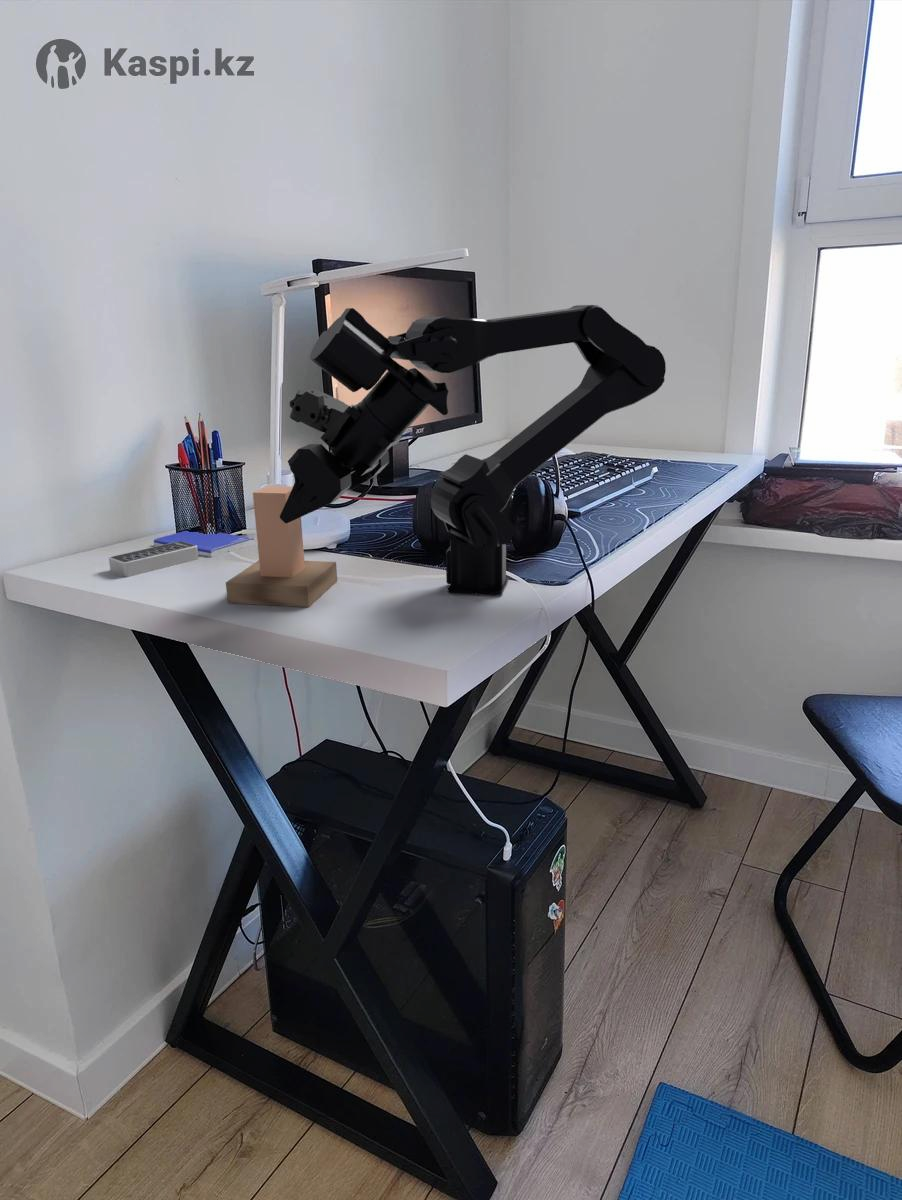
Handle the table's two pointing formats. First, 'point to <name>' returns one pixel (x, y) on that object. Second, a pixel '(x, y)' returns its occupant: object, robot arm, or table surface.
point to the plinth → (282, 585)
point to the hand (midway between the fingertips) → (298, 511)
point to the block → (277, 534)
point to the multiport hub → (153, 558)
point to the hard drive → (207, 542)
